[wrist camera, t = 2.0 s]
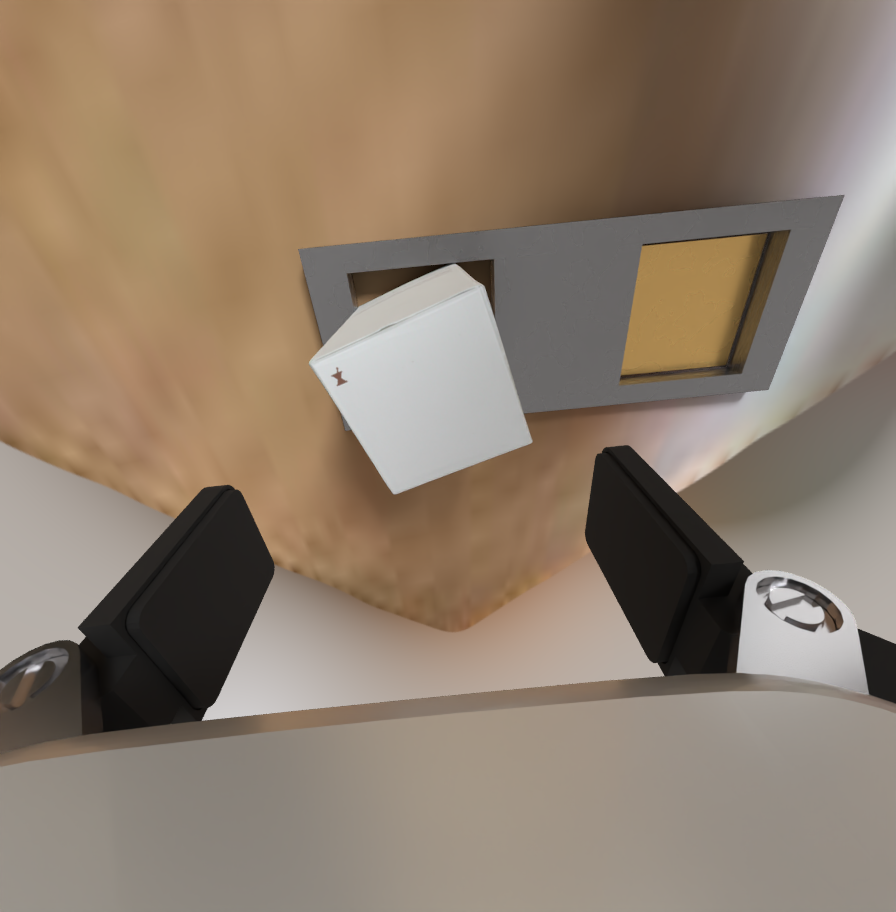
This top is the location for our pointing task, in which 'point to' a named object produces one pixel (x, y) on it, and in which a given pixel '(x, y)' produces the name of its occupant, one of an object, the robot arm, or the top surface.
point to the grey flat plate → (619, 297)
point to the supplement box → (424, 379)
